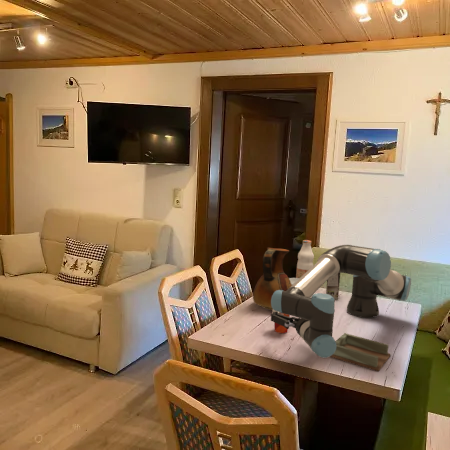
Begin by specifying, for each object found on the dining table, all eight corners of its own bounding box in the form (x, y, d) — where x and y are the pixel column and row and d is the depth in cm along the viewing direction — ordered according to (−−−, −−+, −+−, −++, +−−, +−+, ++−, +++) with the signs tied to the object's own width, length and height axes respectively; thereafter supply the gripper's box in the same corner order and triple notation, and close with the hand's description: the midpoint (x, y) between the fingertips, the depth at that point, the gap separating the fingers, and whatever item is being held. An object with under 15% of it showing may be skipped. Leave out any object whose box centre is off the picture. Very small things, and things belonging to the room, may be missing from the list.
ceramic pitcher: (298, 306, 219) (303, 248, 214) (281, 317, 202) (286, 254, 198) (264, 298, 229) (267, 242, 225) (245, 308, 212) (248, 248, 208)
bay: (339, 341, 177) (340, 331, 176) (390, 356, 166) (391, 344, 165) (324, 355, 164) (325, 343, 163) (378, 371, 152) (379, 359, 152)
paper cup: (278, 335, 181) (280, 302, 179) (268, 328, 188) (270, 297, 186) (293, 332, 184) (296, 300, 182) (283, 326, 191) (285, 295, 189)
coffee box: (338, 300, 232) (340, 270, 230) (326, 299, 234) (328, 269, 231) (337, 295, 241) (339, 267, 239) (325, 294, 243) (327, 266, 240)
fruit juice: (294, 289, 249) (298, 241, 245) (295, 285, 258) (299, 238, 254) (311, 291, 247) (315, 242, 243) (311, 286, 256) (315, 240, 252)
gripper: (274, 341, 152) (259, 319, 173) (341, 339, 156) (318, 319, 177) (276, 320, 151) (260, 301, 172) (343, 319, 155) (320, 301, 176)
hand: (289, 310), depth 174 cm, fingers open, 13 cm apart
